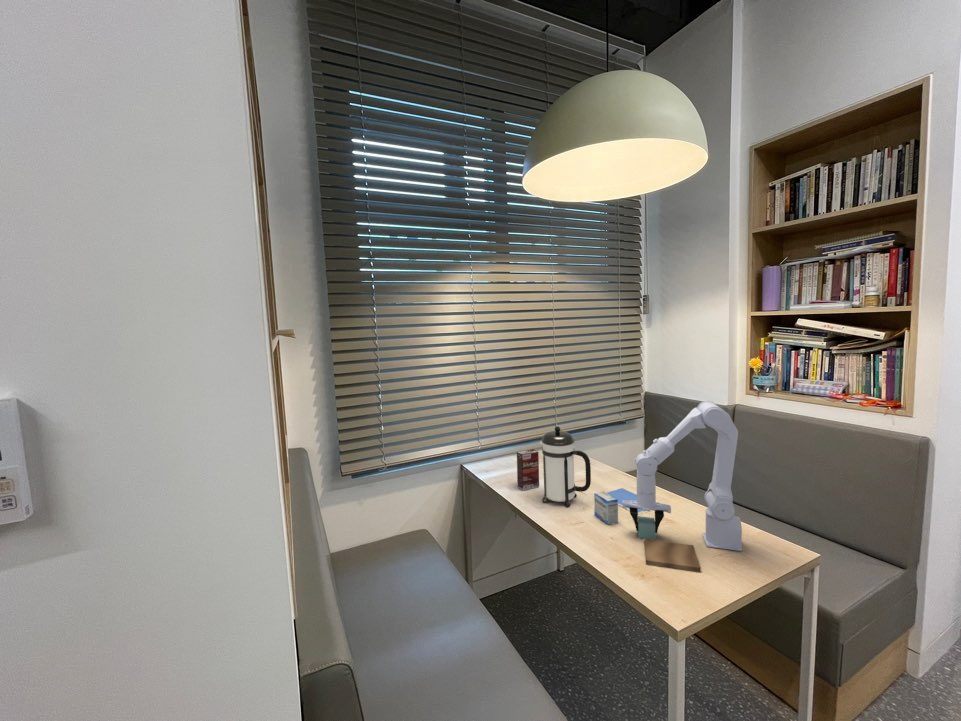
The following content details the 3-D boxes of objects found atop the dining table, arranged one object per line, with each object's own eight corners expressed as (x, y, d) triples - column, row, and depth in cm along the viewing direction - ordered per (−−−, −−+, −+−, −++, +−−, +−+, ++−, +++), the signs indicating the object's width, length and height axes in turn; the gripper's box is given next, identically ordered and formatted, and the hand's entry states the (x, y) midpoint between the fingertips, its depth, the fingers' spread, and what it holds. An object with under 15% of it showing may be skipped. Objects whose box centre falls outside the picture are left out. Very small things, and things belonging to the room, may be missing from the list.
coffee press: (550, 511, 151) (547, 433, 148) (535, 494, 167) (533, 423, 164) (592, 505, 155) (590, 429, 152) (574, 489, 170) (572, 420, 168)
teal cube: (654, 532, 133) (654, 517, 133) (655, 540, 129) (655, 525, 128) (638, 530, 135) (637, 516, 135) (638, 537, 130) (638, 523, 130)
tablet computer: (661, 508, 151) (661, 504, 151) (637, 516, 145) (637, 513, 145) (622, 490, 168) (622, 487, 168) (599, 497, 163) (599, 494, 163)
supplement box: (522, 491, 170) (521, 455, 169) (517, 487, 175) (515, 452, 174) (540, 487, 174) (538, 451, 173) (534, 483, 178) (533, 448, 177)
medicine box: (594, 515, 147) (593, 492, 146) (604, 513, 148) (603, 490, 147) (608, 525, 139) (607, 501, 138) (618, 522, 141) (618, 498, 140)
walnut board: (693, 548, 123) (693, 545, 123) (700, 572, 111) (700, 567, 111) (643, 542, 127) (643, 538, 127) (645, 564, 116) (645, 560, 116)
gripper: (622, 493, 129) (623, 534, 130) (672, 498, 124) (672, 540, 125) (622, 485, 136) (623, 523, 137) (669, 489, 131) (669, 529, 132)
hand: (646, 530), depth 132 cm, fingers closed on teal cube, 5 cm apart
